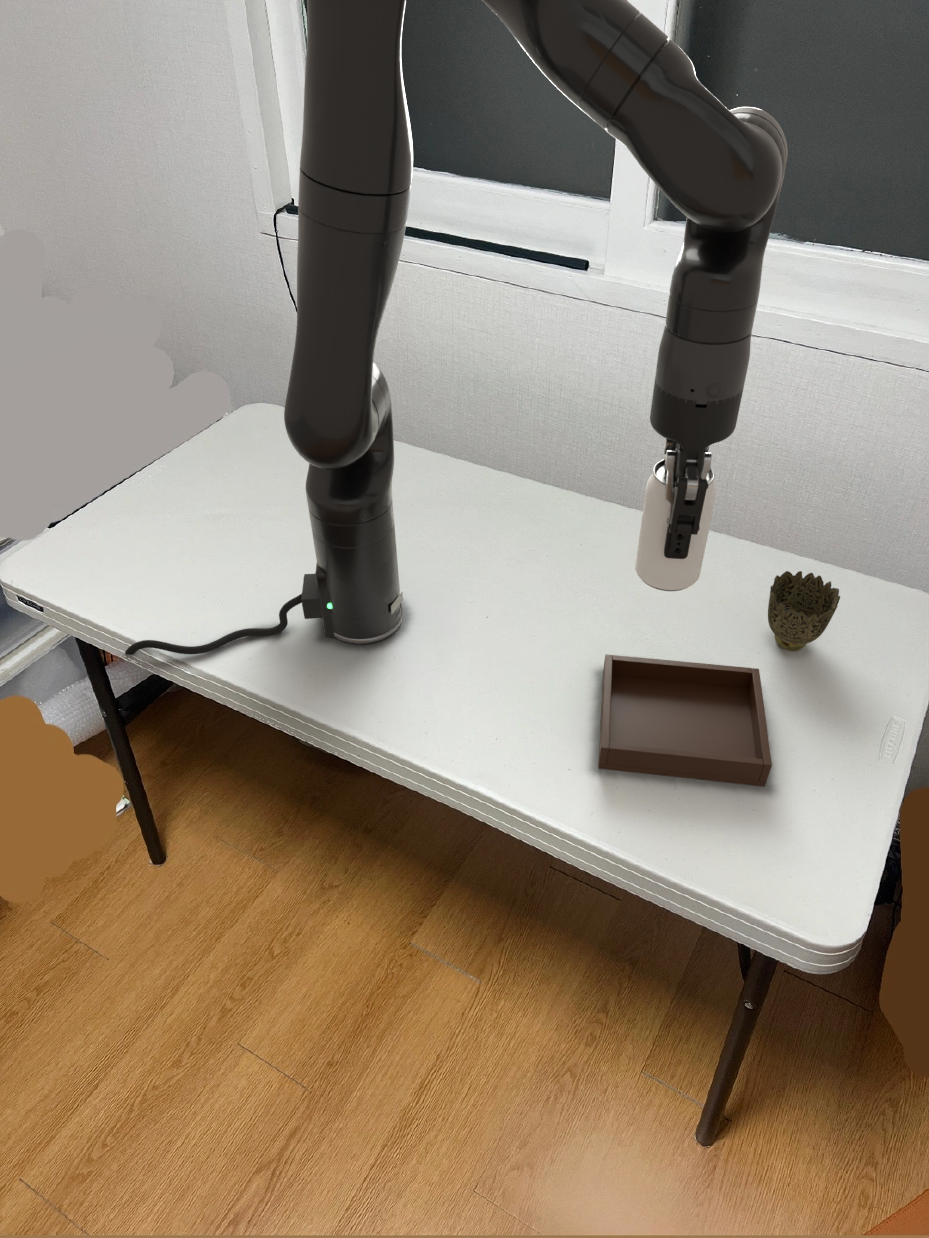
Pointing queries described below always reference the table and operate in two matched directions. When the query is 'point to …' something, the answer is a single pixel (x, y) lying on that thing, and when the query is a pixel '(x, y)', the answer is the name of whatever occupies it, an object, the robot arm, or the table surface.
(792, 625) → the cup
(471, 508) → the table surface
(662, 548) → the can
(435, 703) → the table surface
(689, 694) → the tray
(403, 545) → the table surface
